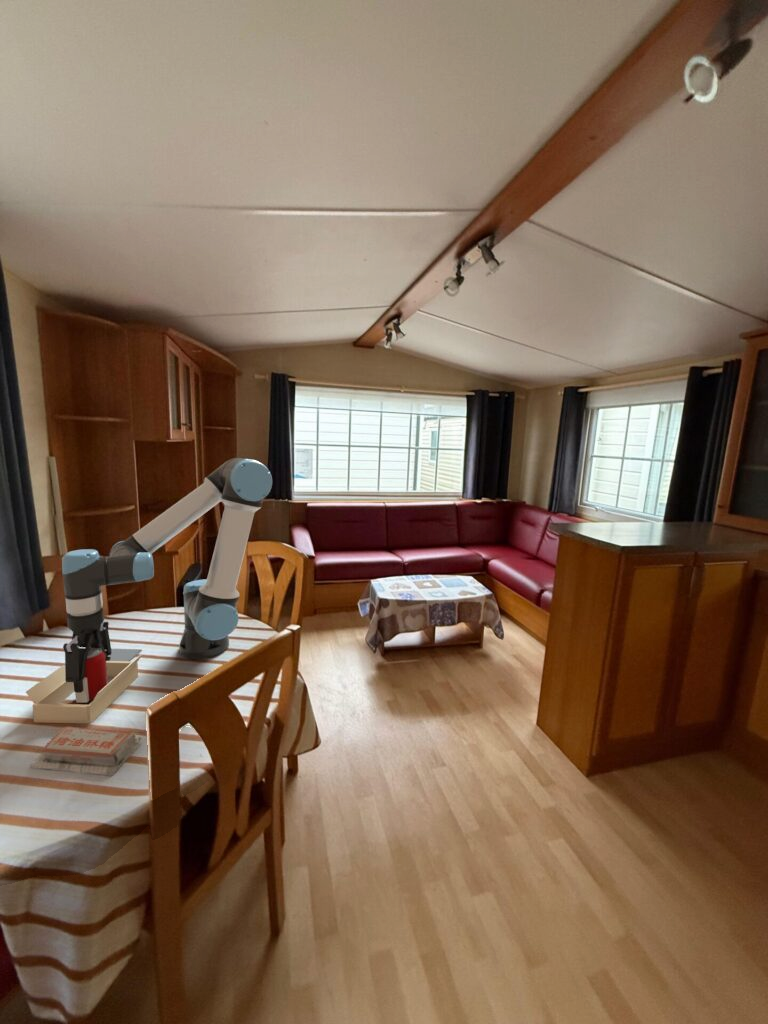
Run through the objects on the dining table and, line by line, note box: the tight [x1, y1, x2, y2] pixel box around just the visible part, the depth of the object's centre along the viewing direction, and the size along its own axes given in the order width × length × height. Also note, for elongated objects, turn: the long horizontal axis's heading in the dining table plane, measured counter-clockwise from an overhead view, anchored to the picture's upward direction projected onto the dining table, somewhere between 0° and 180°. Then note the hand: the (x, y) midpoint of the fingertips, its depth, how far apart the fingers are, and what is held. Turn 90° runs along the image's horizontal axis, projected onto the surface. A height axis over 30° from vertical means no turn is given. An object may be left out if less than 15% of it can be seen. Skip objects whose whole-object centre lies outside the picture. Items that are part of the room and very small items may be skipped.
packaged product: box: [29, 725, 143, 776], centre depth 88 cm, size 18×5×10 cm
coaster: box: [105, 648, 143, 662], centre depth 126 cm, size 12×12×1 cm
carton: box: [25, 653, 143, 724], centre depth 107 cm, size 17×21×8 cm
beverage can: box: [84, 648, 108, 701], centre depth 107 cm, size 7×7×12 cm
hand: (92, 692), depth 108 cm, fingers closed on beverage can, 7 cm apart
